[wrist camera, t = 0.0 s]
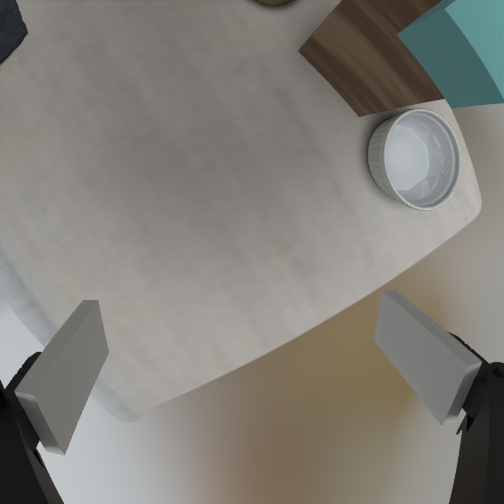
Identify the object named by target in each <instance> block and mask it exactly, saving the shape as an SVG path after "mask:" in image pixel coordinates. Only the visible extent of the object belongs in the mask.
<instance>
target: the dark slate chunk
mask: <svg viewBox="0 0 504 504" xmlns="http://www.w3.org/2000/svg"><path fill="white" fill-rule="evenodd" d="M26 34H28V31H27V29H26V25H25V23H24V22H23V20H22V16H21V13H20V11H19V7H18V4H17V2H16V0H0V62H1V61H2V60H4V59H5V58H6V57H7V56H8V55H9V54H10V53H11V52H12V51H13V50H14V49H15V48H16V47H17V46H18V45H19V44H20V42H21V41H22V40H23V38H24V36H25V35H26Z"/></svg>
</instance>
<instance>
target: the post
mask: <svg viewBox="0 0 504 504" xmlns="http://www.w3.org/2000/svg"><path fill="white" fill-rule="evenodd" d="M441 1H442V0H342V1H341V2H340V3H339V4H338V5H337V7H336V8H335V9H334V10H333V11H332V12H331V13H330V14H329V16H328V17H327V18H326V19H325V20H324V21H323V22H322V24H321V25H320V26H319V27H318V28H317V29H316V31H315V32H314V33H313V34H312V35H311V36H310V38H309V39H308V40H307V41H306V42H305V44H304V45H303V46H302V47H301V48H300V50H299V52H300V53H301V54H302V55H303V56H304V57H305V58H306V59H307V60H308V61H309V62H310V63H311V64H312V65H313V66H314V67H315V68H316V69H317V71H318V72H319V73H320V74H321V75H322V76H323V77H324V78H325V79H326V80H327V81H328V82H329V83H330V84H331V85H332V86H333V88H334V89H335V90H336V91H337V92H338V93H339V94H340V95H341V96H342V98H343V99H344V100H345V101H346V102H347V103H348V104H349V106H350V107H351V108H352V109H353V110H354V111H355V113H356V114H357V115H358V116H359V117H361V116H365V115H369V114H373V113H378V112H382V111H386V110H391V109H395V108H400V107H404V106H409V105H414V104H419V103H424V102H430V101H435V100H441V99H445V98H444V96H443V95H442V93H441V92H440V90H439V89H438V88H437V86H436V85H435V83H434V82H433V80H432V79H431V78H430V76H429V75H428V73H427V72H426V71H425V69H424V68H423V67H422V65H421V64H420V63H419V62H418V60H417V59H416V58H415V56H414V55H413V54H412V53H411V51H410V50H409V49H408V48H407V46H406V45H405V44H404V43H403V42H402V40H401V39H400V38H399V37H398V36H397V34H398V33H399V32H401V31H402V30H403V29H405V28H406V27H407V26H408V25H410V24H411V23H412V22H414V21H415V20H416V19H418V18H419V17H420V16H422V15H423V14H424V13H426V12H427V11H428V10H430V9H431V8H432V7H434V6H435V5H437V4H438V3H439V2H441Z"/></svg>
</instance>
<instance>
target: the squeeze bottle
mask: <svg viewBox="0 0 504 504" xmlns="http://www.w3.org/2000/svg"><path fill="white" fill-rule="evenodd" d="M258 1H259V2H262V3H264V4H267V5H279V4H283V3H285V2H287V1H289V0H258Z"/></svg>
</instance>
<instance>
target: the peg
mask: <svg viewBox="0 0 504 504" xmlns="http://www.w3.org/2000/svg"><path fill="white" fill-rule="evenodd" d="M397 36H398V37H399V38H400V39H401V40H402V42H403V43H404V44H405V45H406V46H407V48H408V49H409V50H410V51H411V53H412V54H413V55H414V56H415V58H416V59H417V60H418V62H419V63H420V64H421V65H422V67H423V68H424V69H425V71H426V72H427V73H428V75H429V76H430V78H431V79H432V80H433V82H434V83H435V85H436V86H437V88H438V89H439V90H440V92H441V93H442V95H443V96H444V98H445V99H446V101H447V102H448V104H449V106H450V107H451V108H457V107H466V106H476V105H486V104H498V103H504V0H442V1H441V2H439V3H438V4H437V5H435V6H434V7H432V8H431V9H430V10H428V11H427V12H426V13H424V14H423V15H422V16H420V17H419V18H418V19H416V20H415V21H414V22H412V23H411V24H410V25H408V26H407V27H406V28H405V29H403V30H402V31H401V32H399V33H398V34H397Z"/></svg>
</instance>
